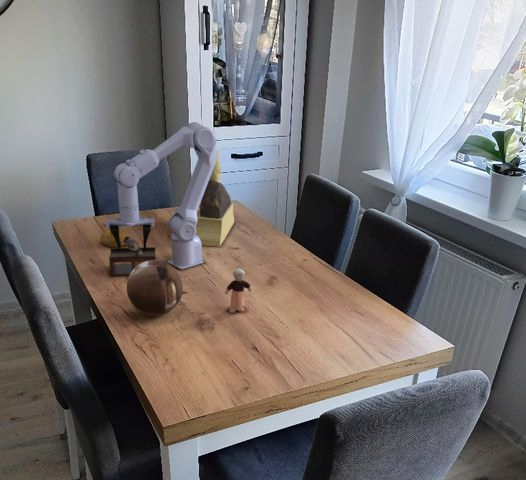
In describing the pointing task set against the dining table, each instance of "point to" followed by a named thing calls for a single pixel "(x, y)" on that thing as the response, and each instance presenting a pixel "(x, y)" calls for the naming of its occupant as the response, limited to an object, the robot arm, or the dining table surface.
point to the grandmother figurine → (237, 291)
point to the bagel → (112, 238)
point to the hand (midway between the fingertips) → (132, 248)
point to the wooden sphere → (154, 287)
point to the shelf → (128, 259)
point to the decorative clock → (214, 211)
